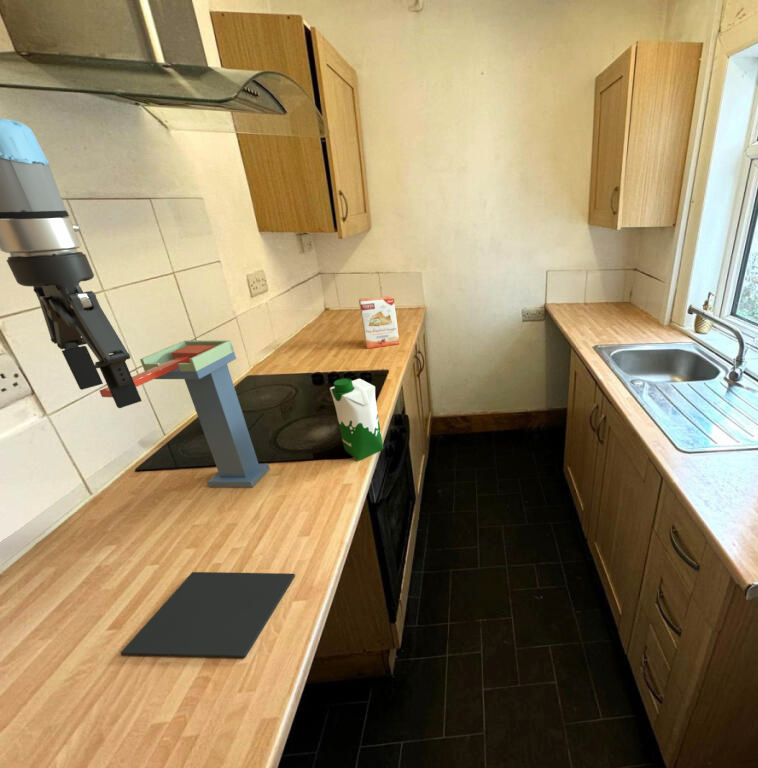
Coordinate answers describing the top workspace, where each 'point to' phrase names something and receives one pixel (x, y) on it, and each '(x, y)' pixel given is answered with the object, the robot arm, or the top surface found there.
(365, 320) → the cracker box
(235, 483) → the stand
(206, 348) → the red toy mallet
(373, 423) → the milk carton
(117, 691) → the top surface
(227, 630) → the mat
